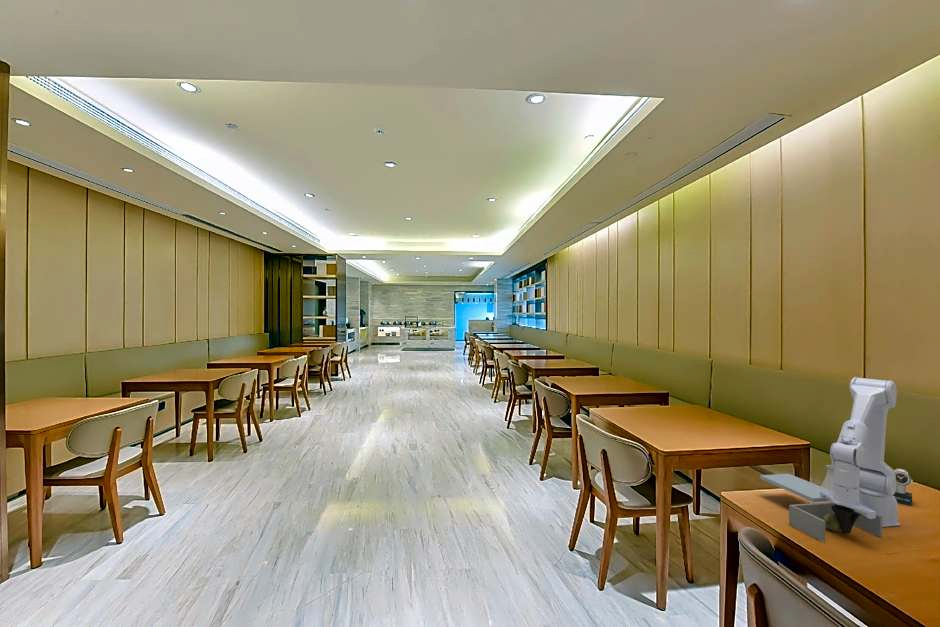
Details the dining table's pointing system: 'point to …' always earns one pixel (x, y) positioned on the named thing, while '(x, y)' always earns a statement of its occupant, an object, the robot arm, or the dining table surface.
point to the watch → (903, 487)
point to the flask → (829, 479)
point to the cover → (796, 486)
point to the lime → (832, 522)
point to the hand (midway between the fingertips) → (845, 532)
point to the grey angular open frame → (814, 525)
